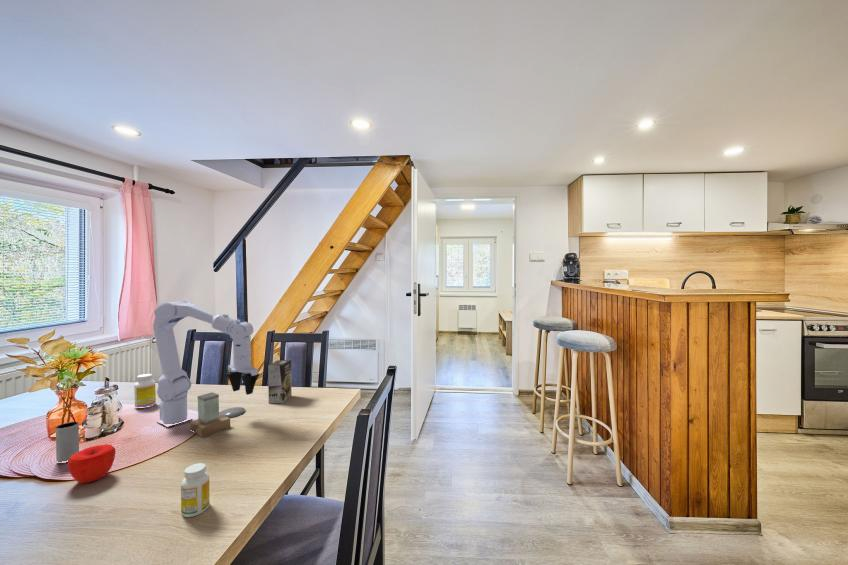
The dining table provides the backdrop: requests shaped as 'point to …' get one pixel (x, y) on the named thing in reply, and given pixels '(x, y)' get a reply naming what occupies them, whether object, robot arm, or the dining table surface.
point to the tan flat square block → (210, 426)
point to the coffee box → (279, 381)
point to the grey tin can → (67, 441)
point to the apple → (91, 463)
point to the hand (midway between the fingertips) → (242, 392)
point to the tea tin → (208, 408)
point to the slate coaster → (232, 412)
